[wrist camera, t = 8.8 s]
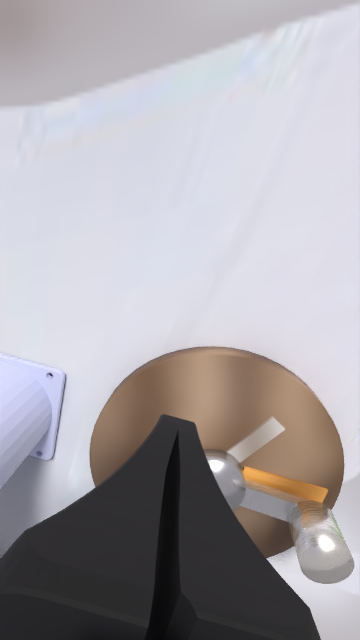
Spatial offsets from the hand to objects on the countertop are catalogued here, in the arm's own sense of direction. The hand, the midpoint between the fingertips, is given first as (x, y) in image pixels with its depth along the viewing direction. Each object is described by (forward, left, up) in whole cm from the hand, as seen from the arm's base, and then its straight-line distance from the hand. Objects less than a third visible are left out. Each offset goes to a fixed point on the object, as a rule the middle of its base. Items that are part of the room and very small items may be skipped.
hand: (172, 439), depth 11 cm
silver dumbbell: (+7, -8, -8) cm, 13 cm away
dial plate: (+4, -8, -9) cm, 13 cm away
